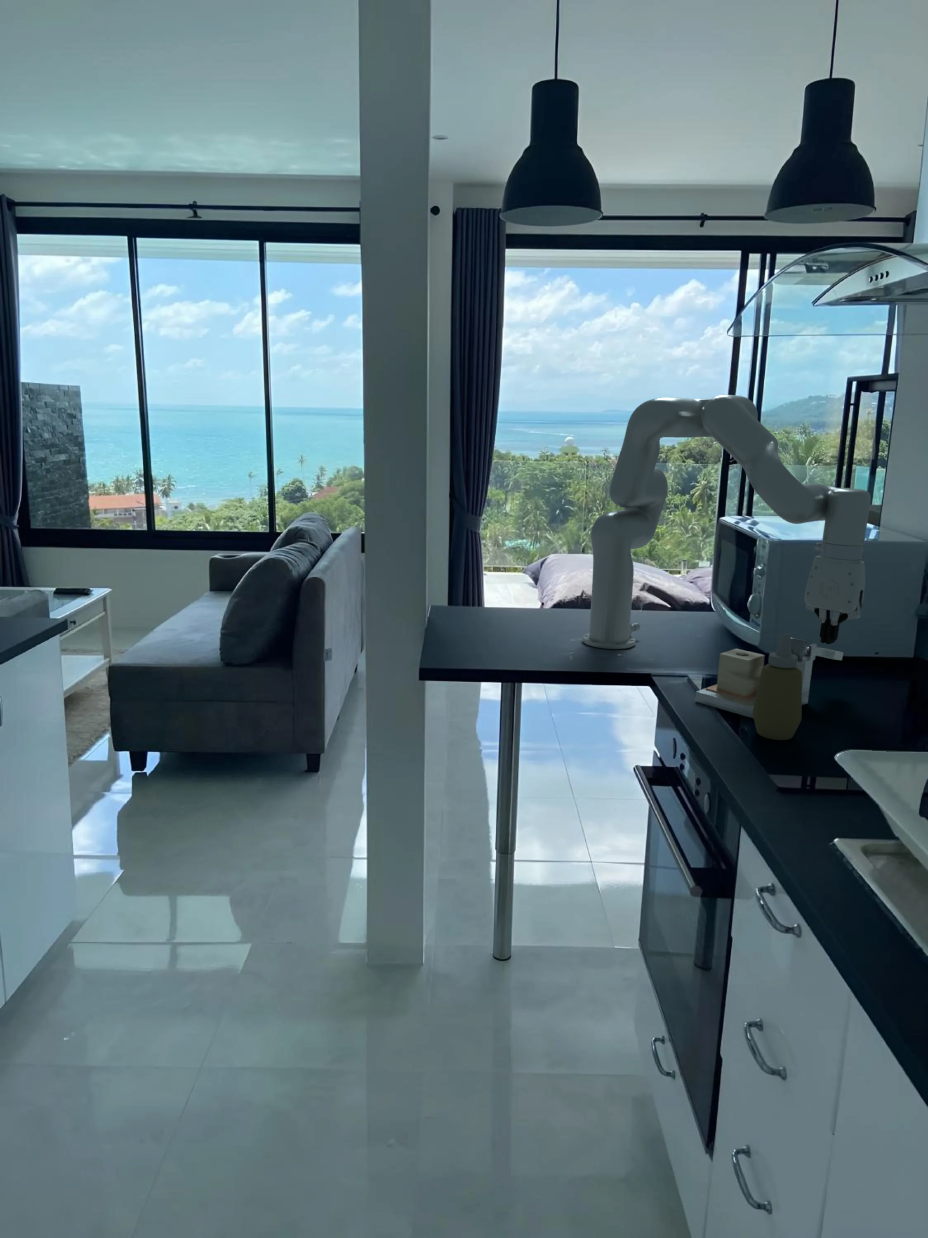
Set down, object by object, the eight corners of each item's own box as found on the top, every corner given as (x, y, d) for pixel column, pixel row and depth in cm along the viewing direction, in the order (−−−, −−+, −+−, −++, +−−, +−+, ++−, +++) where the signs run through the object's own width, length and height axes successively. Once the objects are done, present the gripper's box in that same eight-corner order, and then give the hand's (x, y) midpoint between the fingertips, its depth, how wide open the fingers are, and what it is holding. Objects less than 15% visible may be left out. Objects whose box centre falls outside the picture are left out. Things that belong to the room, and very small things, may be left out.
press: (739, 685, 178) (745, 628, 175) (810, 703, 167) (817, 643, 165) (695, 701, 167) (700, 641, 164) (768, 722, 156) (775, 658, 154)
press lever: (820, 661, 177) (824, 642, 177) (841, 666, 174) (845, 646, 174) (773, 656, 162) (778, 635, 162) (796, 661, 159) (800, 640, 159)
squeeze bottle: (768, 745, 145) (780, 641, 141) (740, 728, 153) (751, 629, 149) (809, 741, 148) (822, 639, 143) (780, 725, 155) (791, 627, 151)
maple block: (732, 682, 172) (736, 648, 170) (760, 690, 168) (764, 654, 166) (716, 688, 168) (719, 653, 166) (744, 696, 164) (748, 660, 162)
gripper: (795, 548, 172) (783, 637, 177) (871, 560, 162) (856, 654, 166) (813, 545, 177) (801, 631, 182) (888, 556, 167) (873, 648, 171)
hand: (827, 642), depth 174 cm, fingers closed
